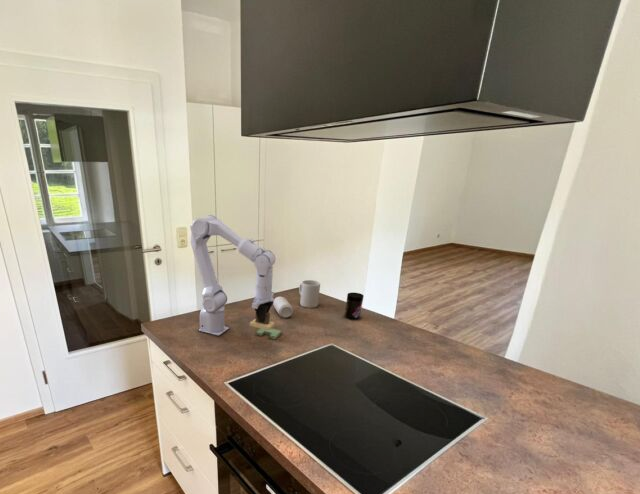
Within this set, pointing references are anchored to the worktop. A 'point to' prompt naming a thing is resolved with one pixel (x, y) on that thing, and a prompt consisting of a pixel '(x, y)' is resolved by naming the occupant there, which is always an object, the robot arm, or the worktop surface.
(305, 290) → the mug
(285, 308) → the beverage can
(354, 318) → the supplement container
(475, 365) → the worktop surface
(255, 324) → the tab pad
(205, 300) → the robot arm
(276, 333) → the notch pad
